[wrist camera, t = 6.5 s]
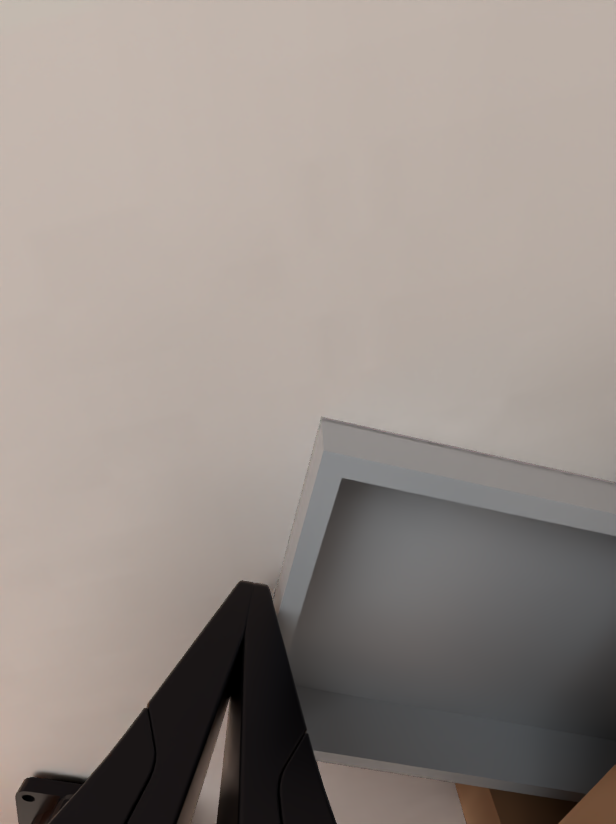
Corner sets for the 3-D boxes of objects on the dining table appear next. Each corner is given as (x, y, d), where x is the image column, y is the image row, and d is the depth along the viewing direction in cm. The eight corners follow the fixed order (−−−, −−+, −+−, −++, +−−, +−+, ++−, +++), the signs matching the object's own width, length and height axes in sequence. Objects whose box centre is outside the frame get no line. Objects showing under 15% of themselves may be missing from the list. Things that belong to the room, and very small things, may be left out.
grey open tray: (619, 738, 13) (673, 817, 11) (252, 675, 12) (241, 749, 10) (814, 525, 9) (943, 585, 7) (321, 414, 8) (323, 450, 6)
